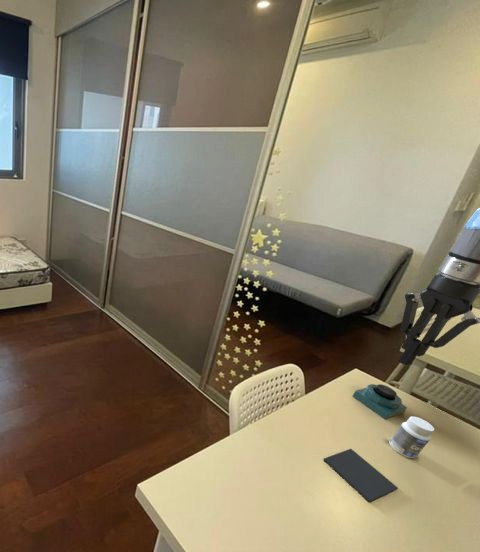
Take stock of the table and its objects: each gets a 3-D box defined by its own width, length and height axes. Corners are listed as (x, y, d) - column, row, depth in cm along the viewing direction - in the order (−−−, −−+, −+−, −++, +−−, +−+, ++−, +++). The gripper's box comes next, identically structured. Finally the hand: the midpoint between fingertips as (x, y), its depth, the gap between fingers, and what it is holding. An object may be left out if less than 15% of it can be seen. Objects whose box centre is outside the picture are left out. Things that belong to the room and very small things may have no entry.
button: (396, 399, 84) (400, 393, 83) (387, 401, 82) (391, 396, 81) (379, 388, 87) (382, 383, 86) (370, 390, 86) (373, 385, 85)
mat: (397, 489, 64) (398, 487, 64) (369, 502, 61) (370, 501, 61) (350, 449, 72) (351, 448, 71) (323, 459, 68) (324, 458, 68)
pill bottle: (406, 460, 70) (427, 434, 67) (383, 442, 75) (402, 416, 71) (421, 457, 72) (442, 430, 68) (397, 438, 76) (416, 413, 72)
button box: (403, 413, 84) (411, 402, 82) (384, 419, 81) (392, 408, 80) (369, 391, 91) (376, 380, 89) (351, 396, 88) (358, 385, 86)
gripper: (414, 267, 75) (366, 348, 84) (494, 292, 64) (428, 383, 73) (432, 265, 77) (383, 345, 87) (511, 290, 66) (446, 378, 76)
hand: (404, 362), depth 80 cm, fingers closed
